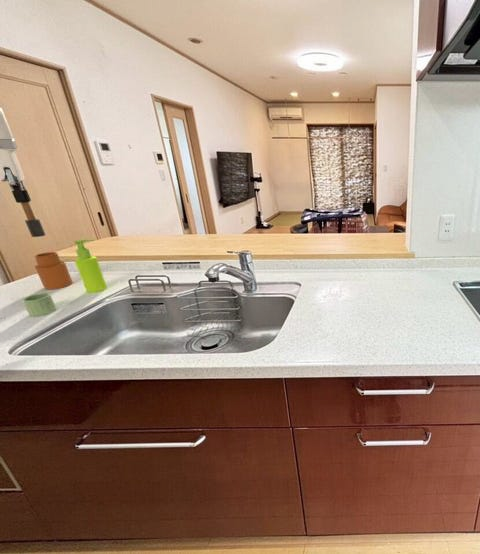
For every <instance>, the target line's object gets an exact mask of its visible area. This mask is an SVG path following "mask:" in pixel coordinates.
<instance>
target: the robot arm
mask: <svg viewBox="0 0 480 554" xmlns="http://www.w3.org/2000/svg"><path fill="white" fill-rule="evenodd" d="M15 151H19V147H18V145H17V143H16V140H15V138H14V136H13V132H12V131H11V127H10V126H9V122H8V119H7V118H6V115H5V113H4V111H3V109H2V107H0V182H3V183H4V182H7V183H8V185H9V188H10V190H11V193H12V195H13V198H14V200H15V202H16V203H17V204H21V203H23V202H29V203H30V202H31V201H32V199H31V197H30V194H29V192H28V190H27V188H26V186H25V184H24V180H26V179H25V174H24V171H23V169H22V166H21V164H20V161H19V160H18V159H19V158H18V157H17V155H16V152H15Z"/></svg>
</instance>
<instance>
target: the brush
mask: <svg viewBox="0 0 480 554" xmlns="http://www.w3.org/2000/svg"><path fill="white" fill-rule="evenodd" d="M20 205H21V207H22V210H23V212H24V214H25V217H26V219H24V221H25V224H26V227H27V229H28V232H29V233H30V236H31V237H32V238H39V237H44V236H46V233H45V230H44V227H43V226H42V225H43V224H42V222H41V221H40V218H36V216H35V213H34V212H33V209H32V206H31V204H30V202H23V203H20Z"/></svg>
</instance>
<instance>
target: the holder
mask: <svg viewBox="0 0 480 554" xmlns="http://www.w3.org/2000/svg"><path fill="white" fill-rule="evenodd" d="M21 301H22V303H23V306H24V308H25V310H26V312H27V314H28V316H29V317H31V318H38V317H43V316H47V315H50V314H52V313H55V312H56V311H57V310H58V309H57V306H56V304H55V301H54V299H53V297H52V295H51V293H50V292H42V293H41V292H40V293H35V294H31V295H28V296H26V297H24V298H22V300H21Z"/></svg>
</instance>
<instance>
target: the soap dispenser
mask: <svg viewBox="0 0 480 554" xmlns="http://www.w3.org/2000/svg"><path fill="white" fill-rule="evenodd" d="M94 241H95V239H94V238H82V239H77V240H73V244H76V246H77V249H75V253H76V254H77V258H75V259H74V262H75V265H76V268H77V270H78V272H79V275H80V278H81V281H82V284H83V286H84V288H85V290H86V291H85V292H86V293H88V294H96V293H100V292H103V291H106V290H107V289H108V286H107V284H106V281H105V278H104V275H103V273H102V270H101V267H100V264H99V261H98V258H97V256H95V255H91V252H90V249H89V248H88V247H85V244H84V243H85V242H94Z"/></svg>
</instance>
